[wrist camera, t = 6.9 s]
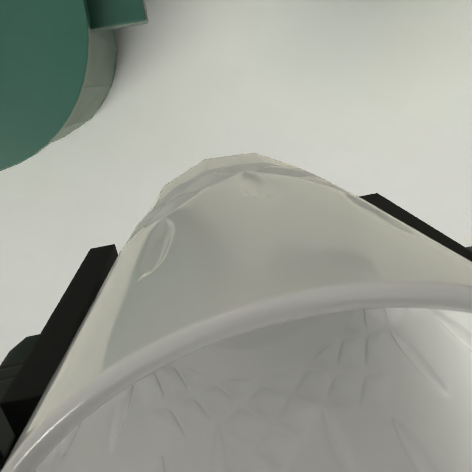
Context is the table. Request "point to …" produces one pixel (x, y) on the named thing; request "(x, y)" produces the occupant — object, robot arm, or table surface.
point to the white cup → (265, 339)
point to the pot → (103, 53)
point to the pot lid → (40, 72)
